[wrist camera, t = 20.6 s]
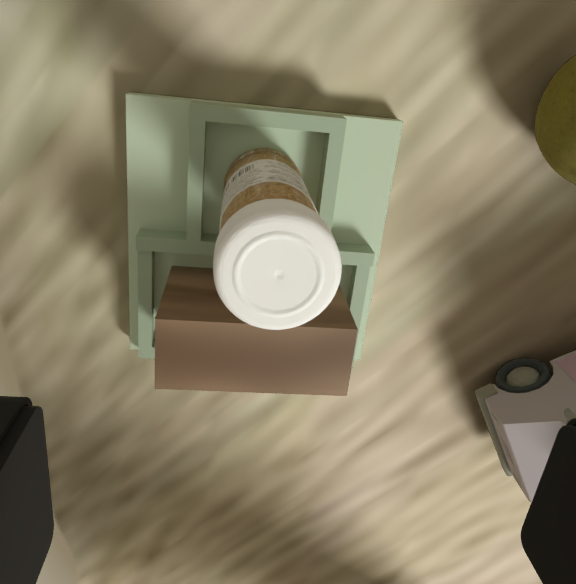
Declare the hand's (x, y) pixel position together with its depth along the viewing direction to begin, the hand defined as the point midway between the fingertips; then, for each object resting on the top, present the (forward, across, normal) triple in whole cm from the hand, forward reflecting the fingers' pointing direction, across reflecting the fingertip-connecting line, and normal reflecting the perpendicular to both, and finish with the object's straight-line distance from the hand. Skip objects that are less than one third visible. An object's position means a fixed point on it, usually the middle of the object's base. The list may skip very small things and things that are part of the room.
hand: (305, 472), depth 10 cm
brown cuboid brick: (+23, 0, +7) cm, 24 cm away
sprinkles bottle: (+23, 0, 0) cm, 23 cm away
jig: (+24, 0, +4) cm, 25 cm away
